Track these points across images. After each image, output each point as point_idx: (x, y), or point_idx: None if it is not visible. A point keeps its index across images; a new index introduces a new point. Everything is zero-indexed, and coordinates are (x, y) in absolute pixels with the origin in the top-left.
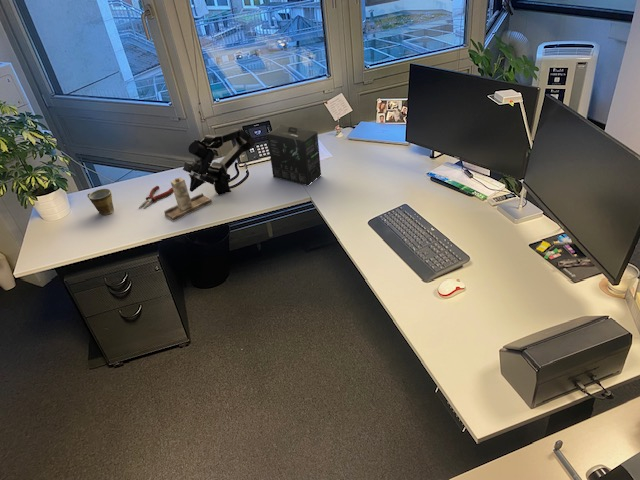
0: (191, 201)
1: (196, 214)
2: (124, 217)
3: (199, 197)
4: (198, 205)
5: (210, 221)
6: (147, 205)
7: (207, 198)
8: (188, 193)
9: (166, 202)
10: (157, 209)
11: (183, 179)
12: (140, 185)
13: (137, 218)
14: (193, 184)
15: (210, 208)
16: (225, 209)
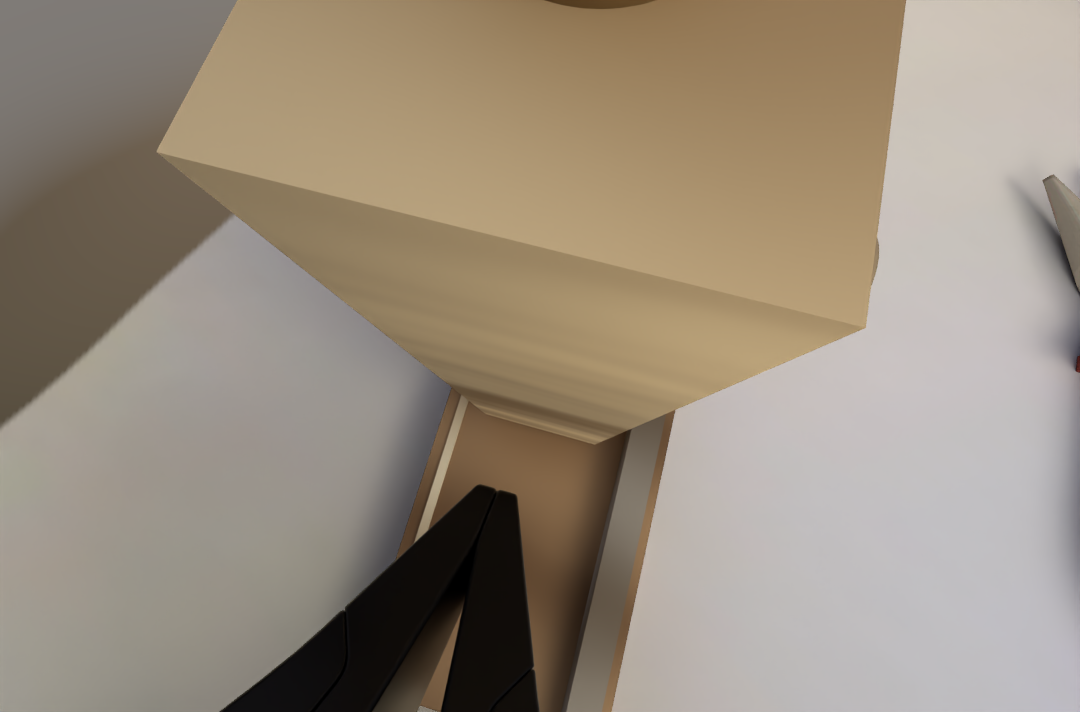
0: (600, 517)
1: (380, 350)
2: (1062, 27)
3: (570, 664)
4: (428, 470)
5: (139, 305)
6: (1074, 242)
7: (427, 690)
8: (440, 374)
9: (947, 412)
10: (896, 254)
11: (289, 164)
12: None
13: (924, 62)
14: (341, 627)
15: (295, 523)
16: (87, 583)
